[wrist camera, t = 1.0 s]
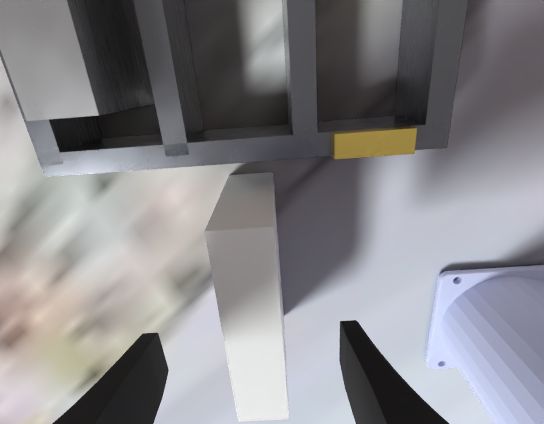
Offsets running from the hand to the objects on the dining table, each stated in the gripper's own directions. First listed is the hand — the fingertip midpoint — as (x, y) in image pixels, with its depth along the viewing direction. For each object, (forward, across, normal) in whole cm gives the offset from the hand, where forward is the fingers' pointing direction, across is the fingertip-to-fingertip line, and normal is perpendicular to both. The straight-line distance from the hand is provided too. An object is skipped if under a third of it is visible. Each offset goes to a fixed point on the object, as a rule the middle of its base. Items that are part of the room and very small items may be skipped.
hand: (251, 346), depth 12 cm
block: (+7, 0, 0) cm, 7 cm away
